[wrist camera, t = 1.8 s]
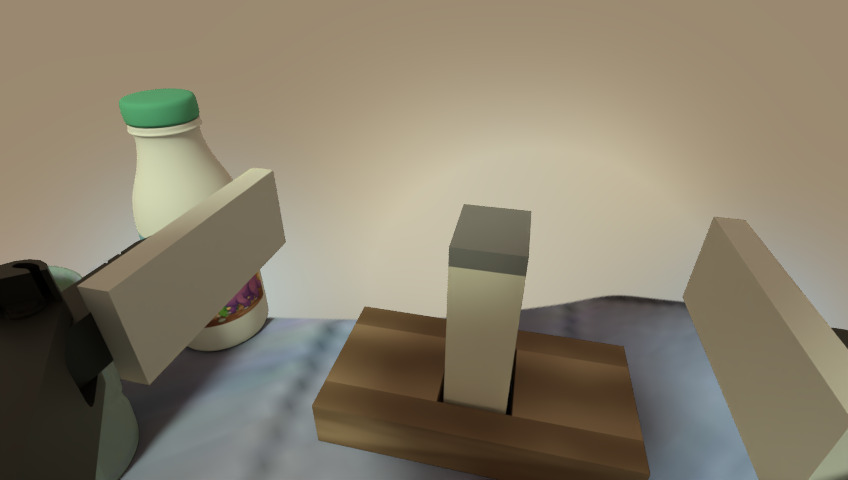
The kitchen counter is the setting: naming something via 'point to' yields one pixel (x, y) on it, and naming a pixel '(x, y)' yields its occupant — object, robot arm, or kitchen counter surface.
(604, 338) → the kitchen counter surface
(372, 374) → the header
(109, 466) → the green cup
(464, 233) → the plug
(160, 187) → the milk bottle
